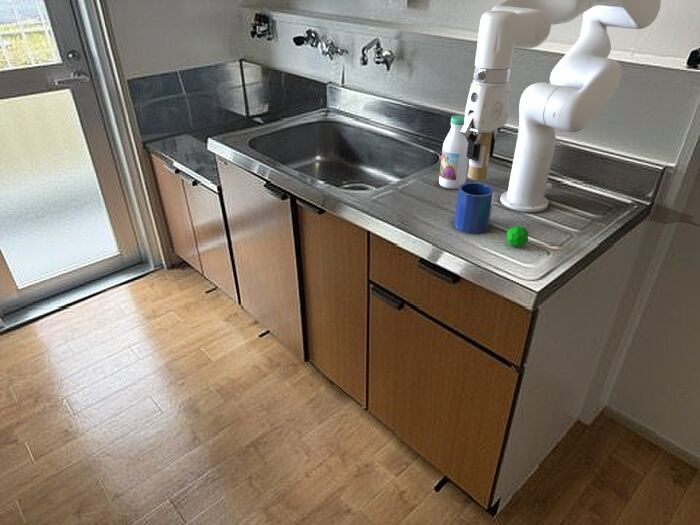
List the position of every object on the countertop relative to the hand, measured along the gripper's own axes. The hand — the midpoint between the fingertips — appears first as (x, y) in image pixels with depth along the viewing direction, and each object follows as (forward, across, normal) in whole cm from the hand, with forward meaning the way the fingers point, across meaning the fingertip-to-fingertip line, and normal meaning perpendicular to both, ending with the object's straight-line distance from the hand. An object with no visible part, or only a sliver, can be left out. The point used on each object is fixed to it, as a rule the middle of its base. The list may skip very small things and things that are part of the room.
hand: (479, 156), depth 115 cm
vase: (+18, 0, 0) cm, 18 cm away
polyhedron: (+18, +1, -14) cm, 23 cm away
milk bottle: (+18, +16, +21) cm, 32 cm away
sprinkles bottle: (+6, 0, 0) cm, 6 cm away
